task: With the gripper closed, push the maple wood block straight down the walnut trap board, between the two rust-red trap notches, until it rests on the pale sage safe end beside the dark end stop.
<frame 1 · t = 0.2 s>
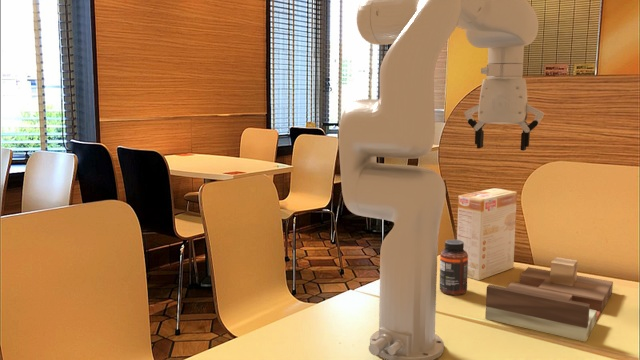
hand: (501, 148, 129), 31 cm above the table, tool pointing down, fingers open, 9 cm apart
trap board: (552, 304, 117), on the table
coffeecake box: (484, 271, 139), on the table
supplement bottle: (453, 292, 125), on the table
maple block: (563, 281, 124), point 2 cm above the table, touching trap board
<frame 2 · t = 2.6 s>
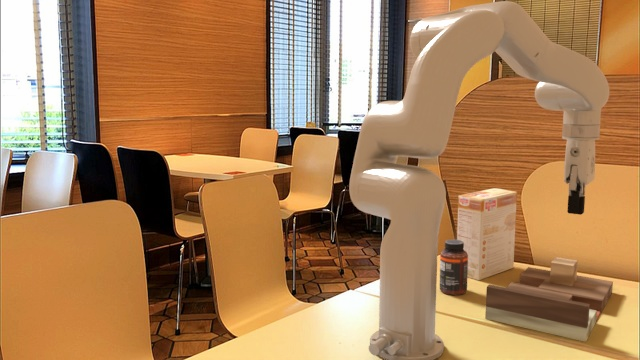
hand: (575, 213, 129), 16 cm above the table, tool pointing down, fingers closed
nothing on the table moved.
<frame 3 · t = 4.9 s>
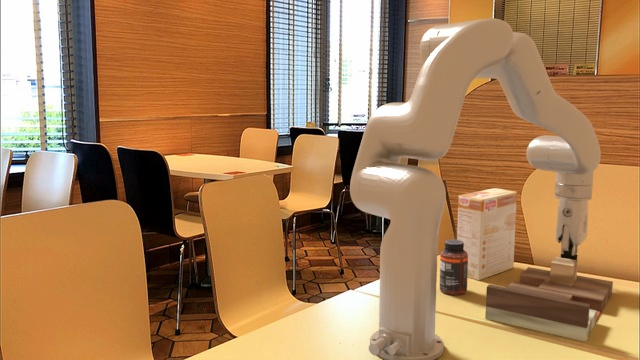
hand: (567, 271, 128), 4 cm above the table, tool pointing down, fingers closed
maple block: (563, 281, 124), point 3 cm above the table, touching gripper, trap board
everything else where it was.
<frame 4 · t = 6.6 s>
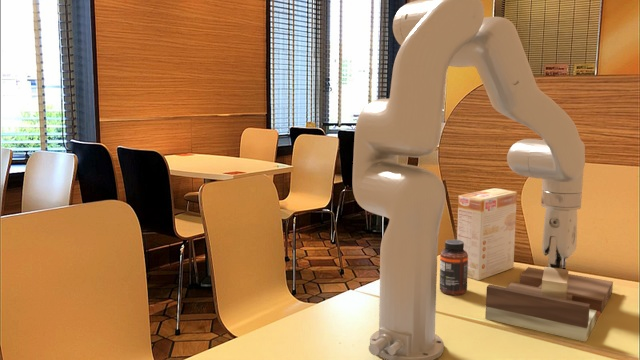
hand: (555, 285, 118), 4 cm above the table, tool pointing down, fingers closed
maple block: (554, 292, 115), point 3 cm above the table, tilted 20°, touching gripper, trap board
everything else where it was.
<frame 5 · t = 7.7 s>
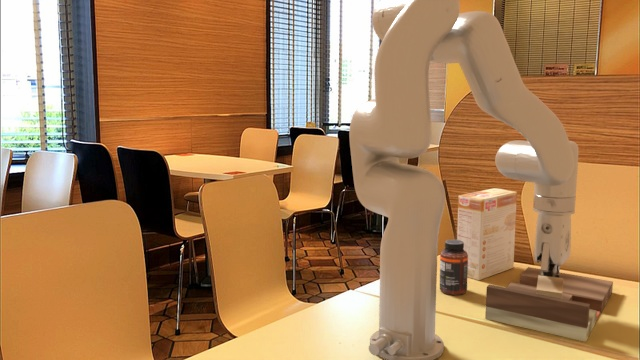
hand: (548, 293, 113), 4 cm above the table, tool pointing down, fingers closed
maple block: (549, 302, 110), point 3 cm above the table, tilted 20°, touching gripper, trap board
everything else where it was.
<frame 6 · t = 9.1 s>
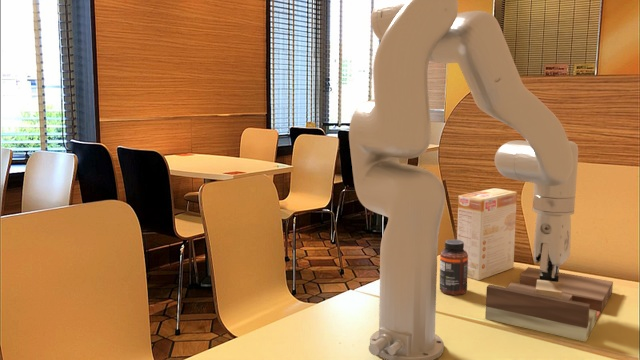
hand: (548, 294, 113), 4 cm above the table, tool pointing down, fingers closed
maple block: (547, 307, 109), point 3 cm above the table, tilted 6°, touching gripper, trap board
everything else where it was.
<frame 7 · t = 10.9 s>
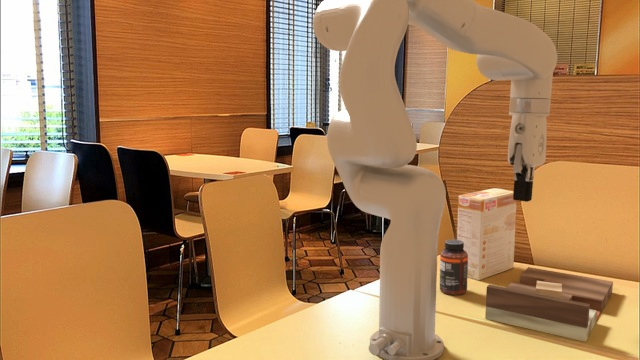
hand: (522, 200, 114), 22 cm above the table, tool pointing down, fingers closed
maple block: (547, 308, 109), point 2 cm above the table, touching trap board
everything else where it was.
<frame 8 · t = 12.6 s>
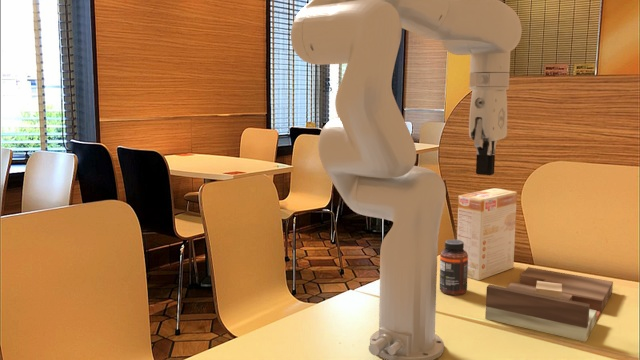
hand: (484, 174, 115), 27 cm above the table, tool pointing down, fingers closed
nothing on the table moved.
at the end: maple block inside the target area (1.2 cm from its centre), point 2.5 cm above the table; maple block tilted 0°; maple block moved 18.3 cm from its start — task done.
